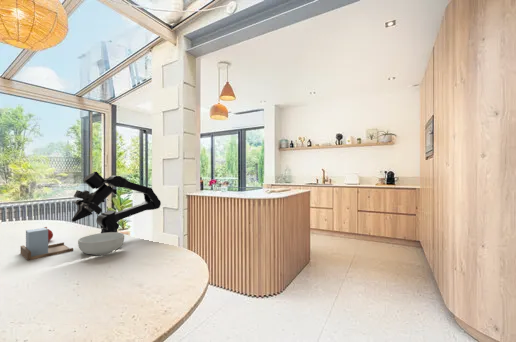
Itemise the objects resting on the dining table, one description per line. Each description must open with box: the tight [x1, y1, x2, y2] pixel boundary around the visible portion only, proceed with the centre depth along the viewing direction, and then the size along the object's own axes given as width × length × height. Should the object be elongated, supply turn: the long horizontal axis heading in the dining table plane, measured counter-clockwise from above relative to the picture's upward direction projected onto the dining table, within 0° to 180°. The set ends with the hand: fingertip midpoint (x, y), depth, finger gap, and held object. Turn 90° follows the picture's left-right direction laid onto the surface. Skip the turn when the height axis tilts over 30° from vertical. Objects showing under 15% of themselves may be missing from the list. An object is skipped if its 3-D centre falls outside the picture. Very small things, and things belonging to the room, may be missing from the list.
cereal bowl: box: [77, 231, 125, 257], centre depth 105 cm, size 17×17×7 cm
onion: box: [43, 226, 54, 242], centre depth 117 cm, size 6×6×8 cm
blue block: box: [25, 227, 49, 257], centre depth 100 cm, size 6×5×10 cm
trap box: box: [20, 242, 74, 261], centre depth 103 cm, size 14×13×4 cm
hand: (72, 221), depth 110 cm, fingers closed
